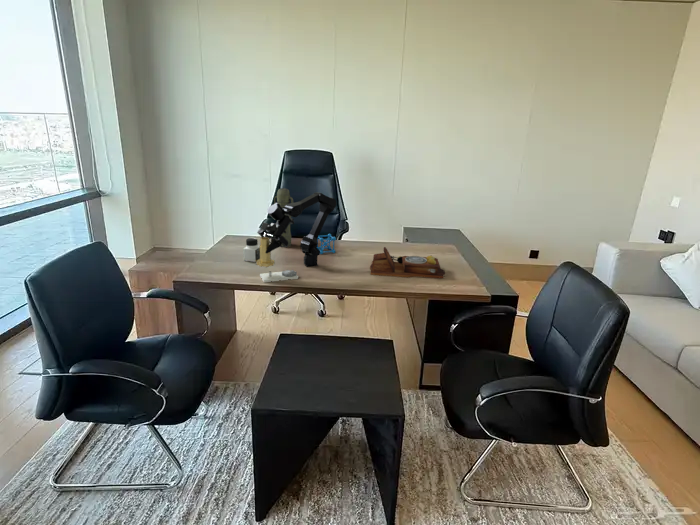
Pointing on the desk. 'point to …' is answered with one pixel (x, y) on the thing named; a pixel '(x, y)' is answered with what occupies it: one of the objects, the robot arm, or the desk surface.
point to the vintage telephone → (405, 266)
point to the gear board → (279, 276)
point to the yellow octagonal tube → (265, 257)
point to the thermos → (283, 200)
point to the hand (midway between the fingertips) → (262, 251)
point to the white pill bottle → (251, 250)
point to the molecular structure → (326, 243)
